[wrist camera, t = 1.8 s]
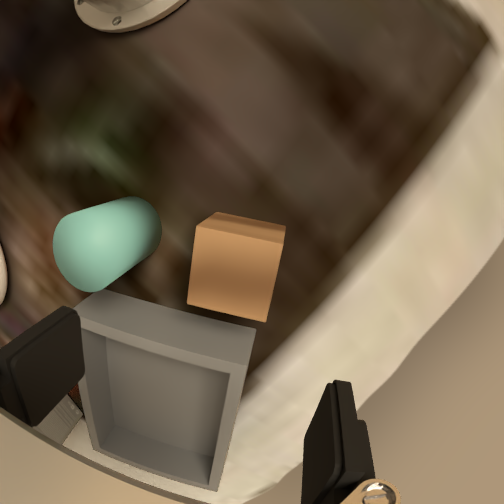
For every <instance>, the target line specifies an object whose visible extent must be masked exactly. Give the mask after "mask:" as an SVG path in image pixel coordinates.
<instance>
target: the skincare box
mask: <svg viewBox="0 0 504 504" xmlns="http://www.w3.org/2000/svg"><path fill="white" fill-rule="evenodd" d="M82 415H83V413H82V412H81V411H80V409H79V408H78V407H77V406H76V404H75V403H74V402H73V401H72V400H71V398H70V397H69V396H68V394H67V395H66V396H65V397H64V398H63V399H62V400H61V401H60V402H59V403H58V404H57V405H56V406H55V408H54V409H53V410H52V411H51V412H50V413H49V414H48V415H47V416H46V417H45V418H44V419H43V421H42V422H41V423H40V424H39V425H38V426H36V427H35V426H34V427H33V429H35V430H36V431H38V432H40V433H41V434H43V435H45V436H46V437H48V438H50V439H52V440H53V441H55V442H57V443H59V444H61V445H62V444H63V442H64V441H65V439H66V438H67V437H68V435H69V434H70V432H71V431H72V429H73V428H74V426H75V425H76V424H77V422H78V421H79V419H80V418H81V417H82Z"/></svg>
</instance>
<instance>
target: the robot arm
mask: <svg viewBox="0 0 504 504" xmlns="http://www.w3.org/2000/svg"><path fill="white" fill-rule="evenodd" d="M186 1H187V0H74V4H75V10H76V12H77V14H78V16H79V18H80V19H81V20H82V21H83V22H84V23H85V24H87V25H89V26H90V27H92V28H95V29H97V30H99V31H103V32H109V33H120V32H127V31H132V30H136V29H139V28H142V27H145V26H147V25H150V24H152V23H154V22H156V21H158V20H160V19H162V18H164V17H165V16H167V15H168V14H170V13H171V12H173V11H175V10H176V9H177V8H179V7H180V6H181V5H182V4H183V3H185V2H186ZM84 374H85V363H84V354H83V344H82V333H81V320H80V316H79V315H78V313H77V311H76V310H74V309H71V308H69V307H66V306H62V307H60V308H59V309H57V310H56V311H54V312H53V313H51V314H50V315H48V316H47V317H45V318H44V319H42V320H41V321H39V322H38V323H37V324H35V325H34V326H32V327H31V328H29V329H28V330H26V331H25V332H24V333H22V334H21V335H19V336H18V337H16V338H15V339H14V340H12V341H11V342H9V343H8V344H7V345H5V346H4V347H3V348H1V349H0V504H209V503H205V502H202V501H198V500H195V499H191V498H188V497H184V496H181V495H178V494H175V493H171V492H168V491H165V490H163V489H160V488H157V487H154V486H151V485H148V484H146V483H143V482H140V481H138V480H135V479H133V478H130V477H128V476H125V475H123V474H120V473H118V472H116V471H113V470H111V469H109V468H107V467H104V466H102V465H100V464H98V463H96V462H94V461H92V460H90V459H87V458H85V457H83V456H81V455H79V454H78V453H76V452H74V451H72V450H70V449H68V448H66V447H64V446H62V445H61V444H59V443H57V442H55V441H53V440H52V439H50V438H48V437H46V436H45V435H43V434H41V433H40V432H38V431H36V430H35V429H33V427H34V426H35V427H36V426H38V425H39V424H40V423H41V422H42V421H43V419H44V418H45V417H46V416H47V415H48V414H49V413H50V412H51V411H52V410H53V409H54V408H55V406H56V405H57V404H58V403H59V402H60V401H61V400H62V399H63V398H64V397H65V396H66V395H67V394H68V393H69V391H70V390H71V389H72V388H73V387H74V386H75V385H76V384H77V383H78V382H79V381H80V380H81V379H82V378H83V376H84ZM400 501H401V497H400V493H399V491H398V490H397V488H396V487H395V486H394V485H393V484H391V483H390V482H388V481H385V480H381V479H376V478H375V472H374V466H373V460H372V454H371V448H370V442H369V437H368V431H367V426H366V423H365V421H364V420H357V414H356V408H355V402H354V396H353V391H352V386H351V383H350V382H346V381H340V380H334V381H333V383H328V384H327V385H326V388H325V390H324V393H323V395H322V397H321V400H320V402H319V405H318V407H317V409H316V412H315V414H314V416H313V418H312V421H311V423H310V425H309V427H308V430H307V432H306V434H305V438H304V452H303V477H302V496H301V504H400Z"/></svg>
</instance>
